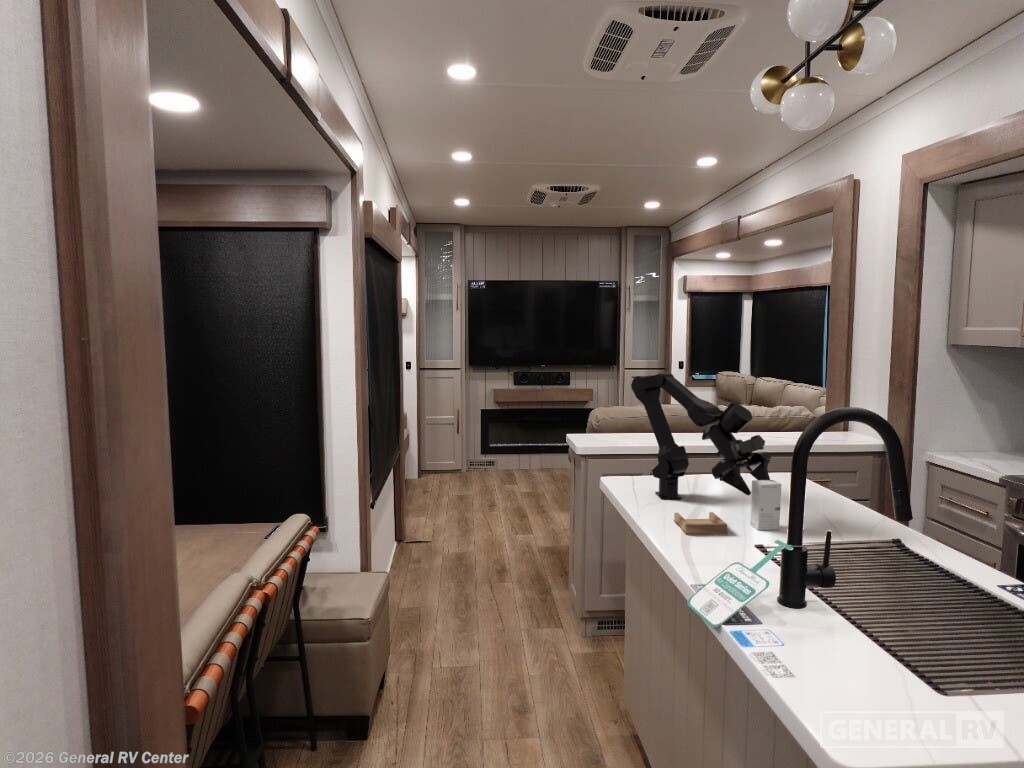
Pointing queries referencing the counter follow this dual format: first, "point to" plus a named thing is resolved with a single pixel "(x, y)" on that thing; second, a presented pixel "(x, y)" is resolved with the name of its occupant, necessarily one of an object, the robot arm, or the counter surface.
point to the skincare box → (765, 504)
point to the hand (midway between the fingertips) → (760, 491)
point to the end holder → (701, 525)
